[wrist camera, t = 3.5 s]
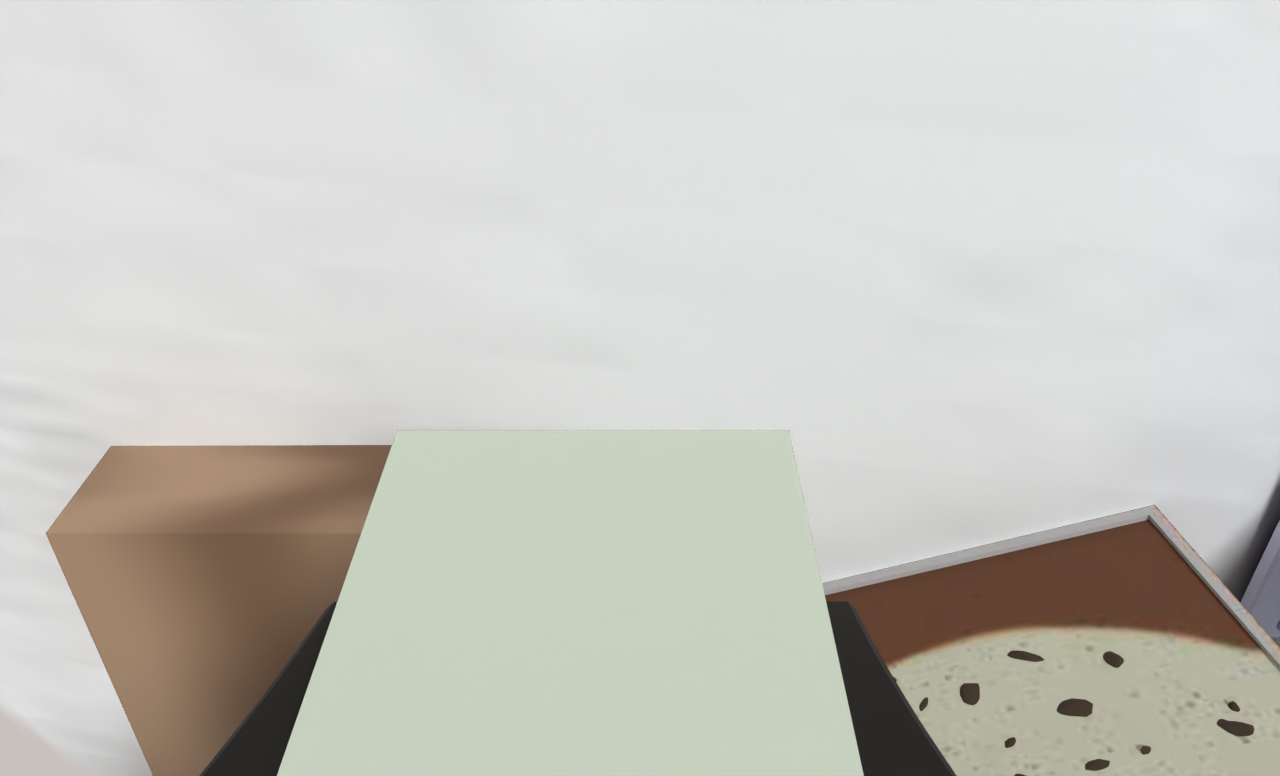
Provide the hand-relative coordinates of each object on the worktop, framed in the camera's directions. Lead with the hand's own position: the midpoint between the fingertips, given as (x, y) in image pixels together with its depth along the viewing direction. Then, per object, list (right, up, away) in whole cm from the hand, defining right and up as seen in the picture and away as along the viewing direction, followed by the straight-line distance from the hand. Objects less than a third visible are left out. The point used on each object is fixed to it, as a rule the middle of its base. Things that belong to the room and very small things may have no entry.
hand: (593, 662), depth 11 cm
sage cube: (0, +1, +1) cm, 1 cm away
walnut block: (-6, -1, +11) cm, 13 cm away
